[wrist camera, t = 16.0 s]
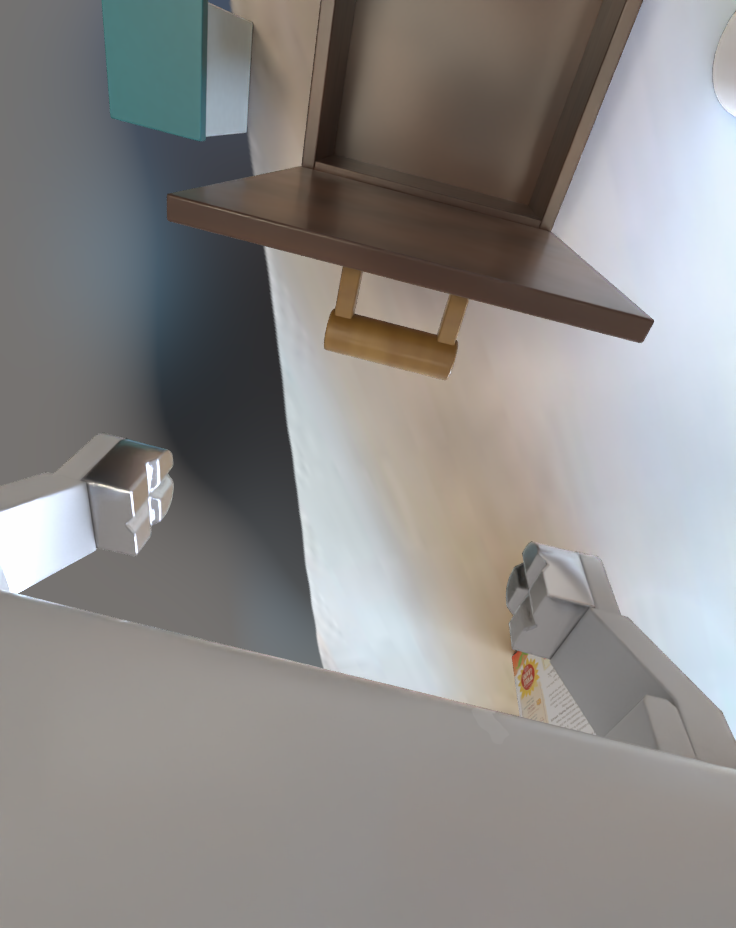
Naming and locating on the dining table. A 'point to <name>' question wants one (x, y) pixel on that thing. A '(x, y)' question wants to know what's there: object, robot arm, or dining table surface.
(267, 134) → the dining table surface
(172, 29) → the white teal-lidded container
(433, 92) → the chest
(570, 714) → the cracker box
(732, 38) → the cylindrical container
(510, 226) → the lid
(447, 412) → the dining table surface
